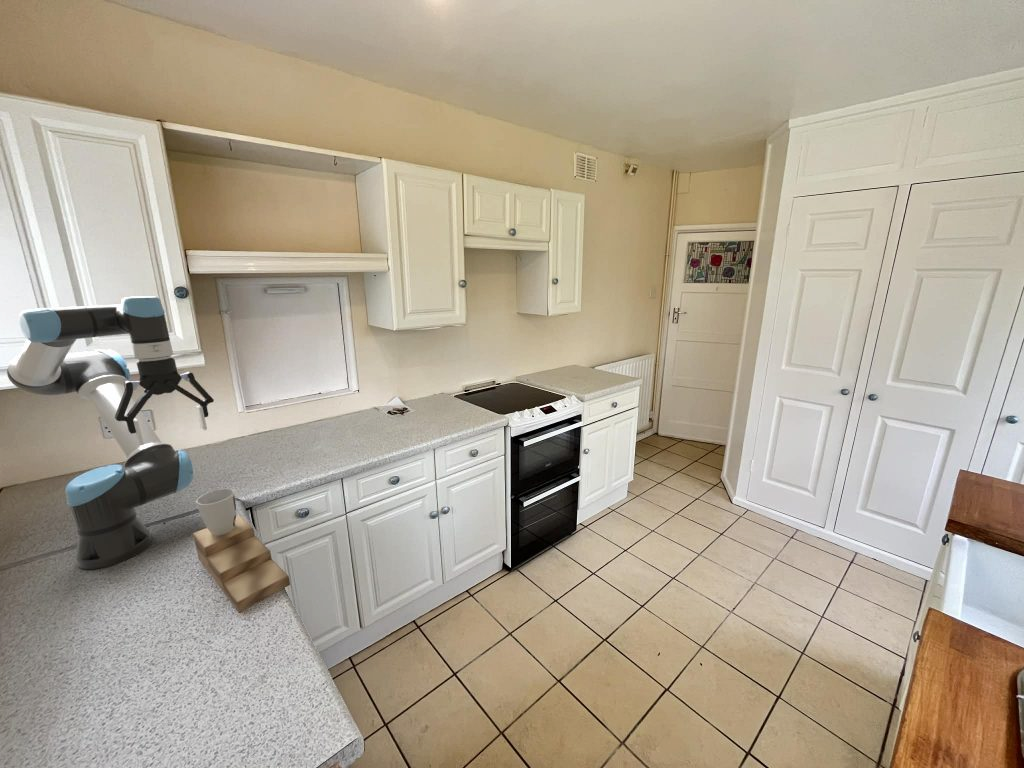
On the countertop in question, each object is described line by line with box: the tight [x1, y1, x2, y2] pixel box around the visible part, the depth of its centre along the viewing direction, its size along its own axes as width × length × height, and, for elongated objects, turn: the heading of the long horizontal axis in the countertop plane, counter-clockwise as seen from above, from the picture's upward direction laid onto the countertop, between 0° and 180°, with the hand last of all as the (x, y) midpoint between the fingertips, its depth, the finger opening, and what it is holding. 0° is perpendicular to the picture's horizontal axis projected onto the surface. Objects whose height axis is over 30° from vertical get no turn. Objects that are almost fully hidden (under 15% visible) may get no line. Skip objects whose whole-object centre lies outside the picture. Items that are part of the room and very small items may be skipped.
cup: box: [195, 488, 237, 536], centre depth 109 cm, size 8×8×10 cm
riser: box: [192, 514, 291, 613], centre depth 105 cm, size 11×30×8 cm, turn 50°
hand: (174, 436), depth 111 cm, fingers open, 13 cm apart
